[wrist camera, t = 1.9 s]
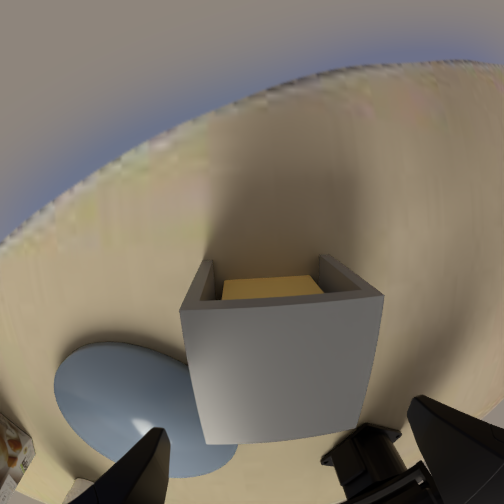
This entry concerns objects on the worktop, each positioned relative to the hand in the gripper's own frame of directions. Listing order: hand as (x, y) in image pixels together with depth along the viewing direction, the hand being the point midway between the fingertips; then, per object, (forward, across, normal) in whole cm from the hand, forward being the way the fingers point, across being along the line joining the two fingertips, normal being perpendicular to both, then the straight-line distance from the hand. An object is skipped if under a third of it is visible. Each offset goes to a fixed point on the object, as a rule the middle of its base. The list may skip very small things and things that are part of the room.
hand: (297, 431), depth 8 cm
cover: (+9, 0, 0) cm, 9 cm away
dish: (+9, +11, +10) cm, 17 cm away
